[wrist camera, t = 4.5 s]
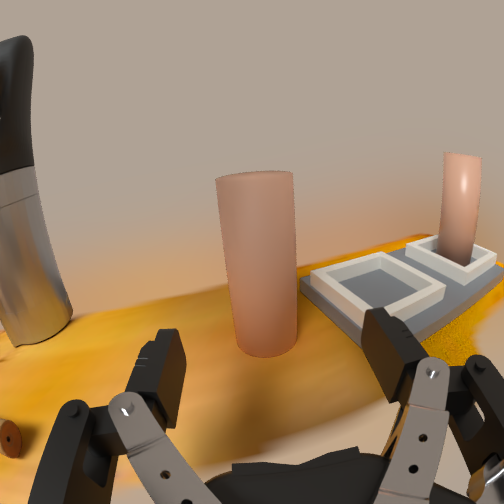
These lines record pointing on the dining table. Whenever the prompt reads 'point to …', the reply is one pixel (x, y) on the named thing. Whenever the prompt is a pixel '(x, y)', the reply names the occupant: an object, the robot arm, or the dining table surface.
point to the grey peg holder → (416, 267)
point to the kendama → (9, 439)
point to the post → (260, 258)
